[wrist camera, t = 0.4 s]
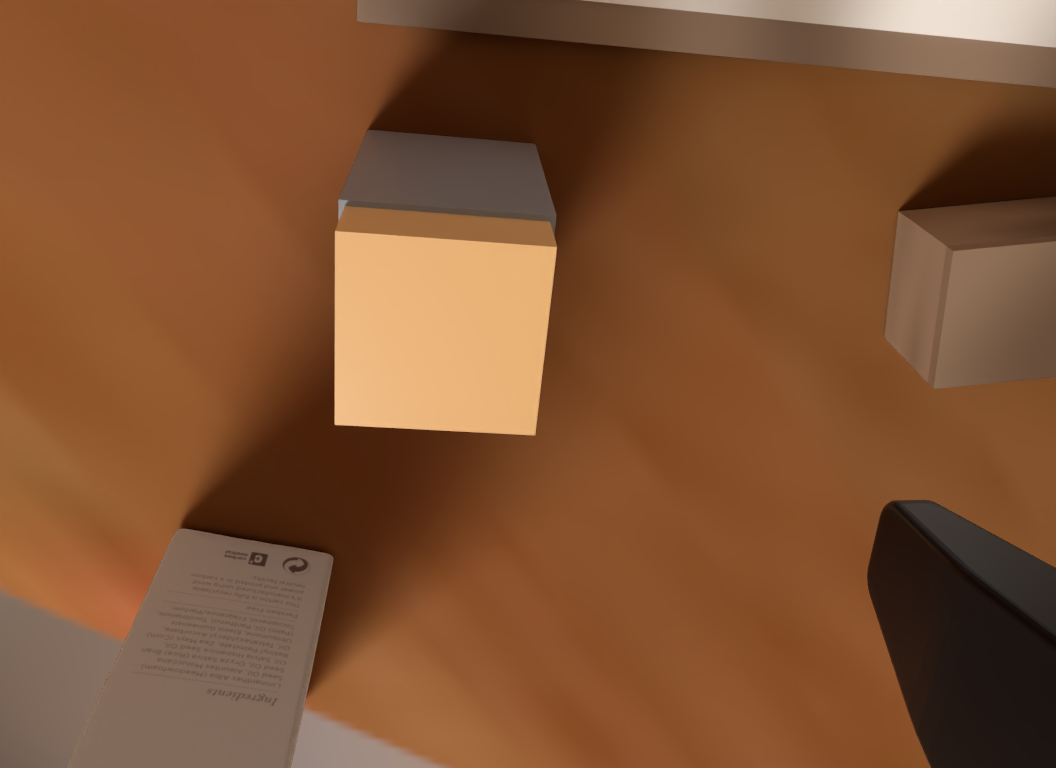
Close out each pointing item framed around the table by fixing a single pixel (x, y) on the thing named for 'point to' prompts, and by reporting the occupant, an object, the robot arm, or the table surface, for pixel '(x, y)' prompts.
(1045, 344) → the plain pale rectangular box
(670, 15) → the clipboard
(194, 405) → the table surface
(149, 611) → the skincare box
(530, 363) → the lidded cardboard box
